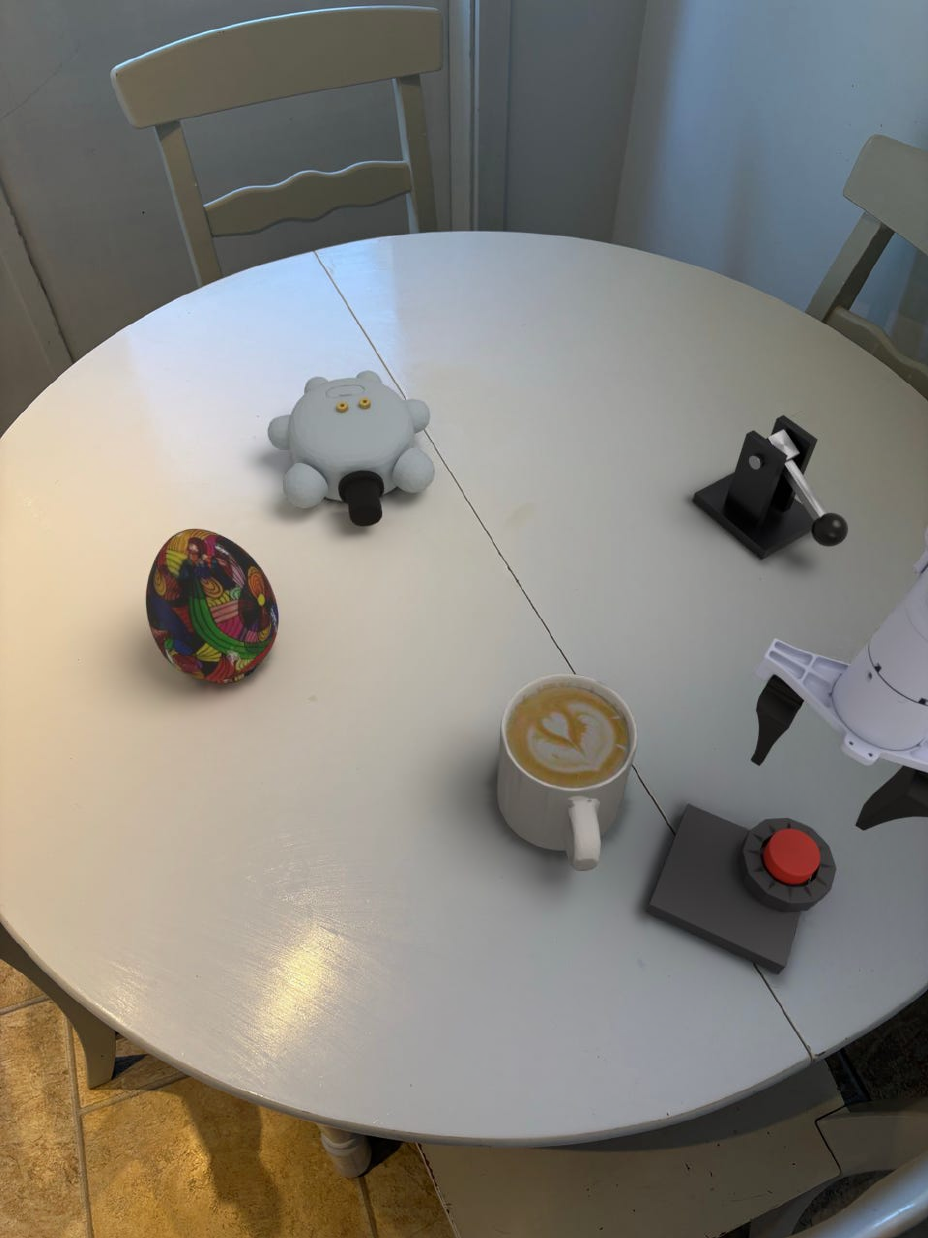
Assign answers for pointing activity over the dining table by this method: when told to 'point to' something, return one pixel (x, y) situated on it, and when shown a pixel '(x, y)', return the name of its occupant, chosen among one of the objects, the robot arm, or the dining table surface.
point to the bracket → (761, 493)
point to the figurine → (352, 445)
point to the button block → (736, 887)
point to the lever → (810, 496)
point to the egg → (210, 607)
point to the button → (791, 856)
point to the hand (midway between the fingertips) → (811, 785)
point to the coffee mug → (565, 763)
